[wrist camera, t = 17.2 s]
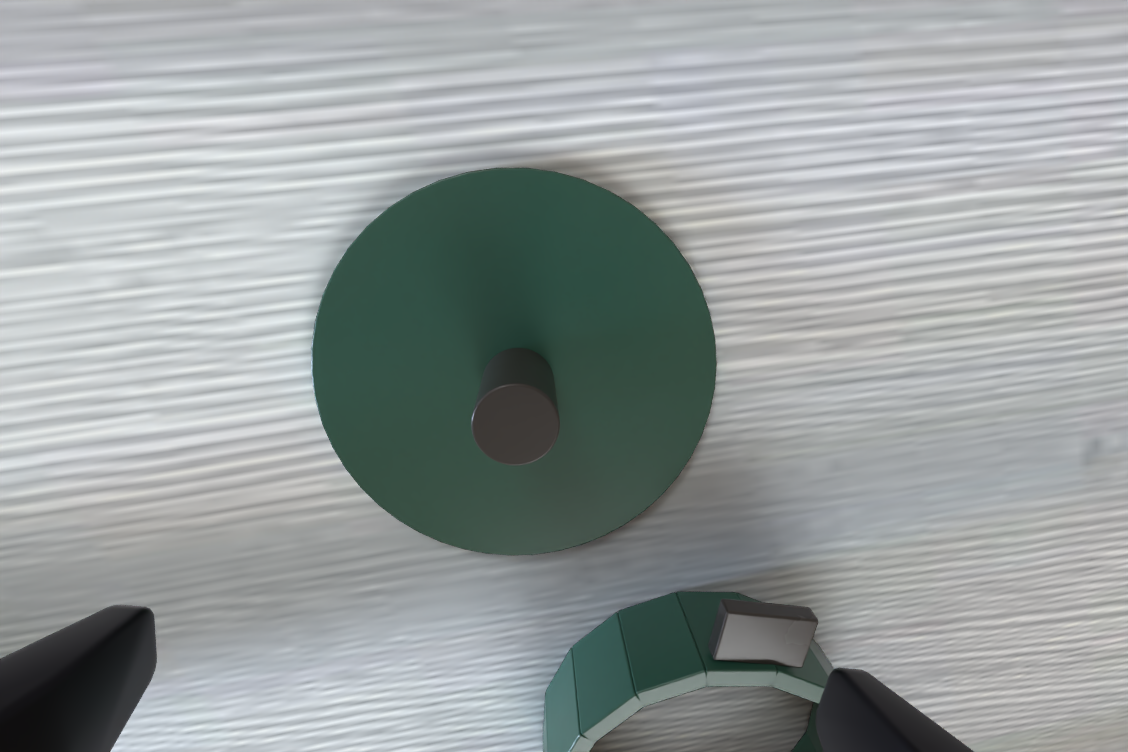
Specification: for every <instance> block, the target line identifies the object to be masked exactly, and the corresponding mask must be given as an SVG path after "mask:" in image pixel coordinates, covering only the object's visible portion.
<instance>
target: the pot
mask: <svg viewBox="0 0 1128 752" xmlns="http://www.w3.org/2000/svg"><path fill="white" fill-rule="evenodd" d="M817 624H818V619H817V618H816V616H815V615H814V613H813V612H812V610H811V609H810V608H808V607H801V606H791V605H781V604H772V603H762V602H759V601H757V600H754V599H752V598H749V597H747V596H744V595H742V594H739V593H735V592H677V593H675V592H674V593H671V594H668V595H665V596H662V597H659V598H656V599H653V600H650V601H647V602H644V603H641V604H638V605H635V606H632V607H629V608H626V609H623V610H620V611H619V612H618V613H615V614H614V615H612V616H611V617H610V618H608V619H607V620H606V621H605V622H603V623H602V624H601V625H599V626H598V627H597V628H596V629H594V630H593V631H592V632H590V633H589V634H588V635H586V636H585V637H584V638H583V639H581V640H580V641H579V642H577V643H576V644H575V645H574V646H573V648H571V649H570V650H569V652H568V654H567V656H566V657H565V659H564V661H563V662H562V664H561V666H560V668H559V669H558V671H557V673H556V675H555V676H554V678H553V680H552V681H551V683H550V685H549V687H548V688H547V690H546V693H545V707H544V723H543V752H590V751H591V749H592V748H593V746H594V744H595V743H596V742H597V741H598V740H599V739H601V738H602V737H604V736H605V735H606V734H608V733H609V732H610V731H612V730H613V729H614V728H616V727H617V726H619V725H620V724H621V723H623V722H624V721H625V720H627V719H628V718H629V717H631V716H632V715H634V714H635V713H636V712H638V711H639V710H640V709H642V708H643V707H645V706H648V705H651V704H654V703H657V702H660V701H664V700H667V699H670V698H673V697H676V696H679V695H682V694H685V693H688V692H691V691H695V690H698V689H701V688H704V687H722V686H771V687H774V688H777V689H780V690H782V691H785V692H788V693H791V694H793V695H796V696H799V697H802V698H804V699H807V700H810V701H813V707H812V711H811V715H810V720H809V724H808V728H807V732H806V733H805V734H804V736H803V737H802V738H801V740H800V741H799V742H798V744H797V745H796V746H795V748H794V749H793V750H792V752H823V749H822V746H821V743H820V740H819V737H818V734H817V730H816V721H815V718H816V711H817V708H818V705H819V702H820V699H821V697H822V694H823V691H824V688H825V686H826V683H827V680H828V677H829V675H830V673H831V672H832V671H833V670H834V668H833V666H832V665H831V663H830V662H829V660H828V659H827V657H826V656H825V654H824V653H823V651H822V650H821V648H820V647H819V646H818V644H817V643H816V642H815V641H814V640H813V639H812V638H813V636H814V633H815V630H816V627H817Z"/></svg>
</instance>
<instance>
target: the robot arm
mask: <svg viewBox="0 0 1128 752" xmlns="http://www.w3.org/2000/svg"><path fill="white" fill-rule="evenodd" d="M156 662H157V654H156V638H155V621H154V614H153V612H152V611H151V610H150V609H149V608H147V607H141V606H130V605H113V606H110V607H108V608H105V609H103V610H101V611H99V612H97V613H95V614H93V615H91V616H89V617H86V618H84V619H82V620H80V621H78V622H76V623H74V624H72V625H70V626H68V627H66V628H63V629H61V630H59V631H57V632H55V633H53V634H51V635H49V636H47V637H45V638H43V639H41V640H38V641H36V642H34V643H32V644H30V645H28V646H26V647H24V648H22V649H20V650H18V651H15V652H13V653H11V654H9V655H7V656H5V657H3V658H1V659H0V752H110V751H111V749H112V747H113V746H114V744H115V742H116V741H117V739H118V737H119V735H120V734H121V732H122V730H123V728H124V727H125V725H126V723H127V721H128V720H129V718H130V716H131V714H132V713H133V711H134V709H135V707H136V706H137V704H138V702H139V700H140V699H141V697H142V695H143V694H144V692H145V690H146V688H147V687H148V685H149V683H150V681H151V679H152V677H153V674H154V671H155V668H156ZM815 721H816V730H817V734H818V737H819V740H820V743H821V746H822V749H823V752H974V751H973V750H971V749H970V748H969V747H967V746H966V745H964V744H963V743H962V742H960V741H959V740H958V739H956V738H955V737H954V736H952V735H951V734H950V733H948V732H947V731H946V730H944V729H943V728H942V727H940V726H939V725H938V724H936V723H935V722H934V721H932V720H931V719H929V718H928V717H927V716H925V715H924V714H923V713H921V712H920V711H919V710H917V709H916V708H915V707H913V706H912V705H911V704H909V703H908V702H907V701H905V700H904V699H903V698H901V697H900V696H899V695H897V694H896V693H895V692H893V691H892V690H890V689H889V688H888V687H886V686H885V685H884V684H882V683H881V682H880V681H878V680H877V679H876V678H874V677H873V676H872V675H870V674H869V673H867V672H865V671H863V670H859V669H848V668H836V669H834V670H833V671H832V672H831V673H830V675H829V677H828V680H827V683H826V686H825V688H824V691H823V694H822V697H821V699H820V702H819V705H818V708H817V711H816V718H815Z"/></svg>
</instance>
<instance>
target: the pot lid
mask: <svg viewBox="0 0 1128 752" xmlns="http://www.w3.org/2000/svg"><path fill="white" fill-rule="evenodd" d="M311 352H312V380H313V387H314V394H315V400H316V403H317V407H318V410H319V414H320V417H321V421H322V424H323V426H324V429H325V431H326V433H327V436H328V438H329V440H330V442H331V445H332V447H333V449H334V450H335V452H336V454H337V455H338V457H339V458H340V460H341V462H342V463H343V465H344V467H345V468H346V470H347V471H348V472H349V473H350V475H351V476H352V477H353V478H354V480H355V481H356V482H357V483H358V485H359V486H360V487H361V488H362V489H363V490H364V491H365V492H366V493H367V494H368V495H369V496H370V497H371V498H372V499H373V500H374V501H375V502H376V503H377V504H378V505H379V506H381V507H382V508H383V509H384V510H386V511H387V512H388V513H390V514H391V515H392V516H394V517H395V518H396V519H398V520H399V521H401V522H403V523H404V524H406V525H408V526H409V527H411V528H413V529H414V530H416V531H418V532H420V533H422V534H424V535H426V536H429V537H431V538H433V539H436V540H438V541H440V542H443V543H446V544H449V545H452V546H456V547H459V548H462V549H466V550H471V551H477V552H482V553H487V554H500V555H532V554H541V553H548V552H554V551H560V550H564V549H567V548H571V547H575V546H578V545H582V544H585V543H587V542H590V541H592V540H595V539H597V538H599V537H602V536H604V535H606V534H608V533H610V532H612V531H614V530H615V529H617V528H619V527H621V526H623V525H625V524H626V523H628V522H629V521H630V520H632V519H633V518H635V517H636V516H637V515H639V514H640V513H642V512H643V511H645V510H646V509H647V508H648V507H649V506H650V505H651V504H652V503H653V502H655V501H656V500H657V499H658V498H659V497H660V496H661V495H662V494H663V493H664V492H665V491H666V490H667V488H668V487H669V486H670V485H671V484H672V483H673V481H674V480H675V479H676V478H677V477H678V475H679V474H680V472H681V471H682V469H683V468H684V466H685V465H686V463H687V462H688V461H689V459H690V458H691V456H692V454H693V452H694V450H695V448H696V446H697V444H698V442H699V440H700V438H701V436H702V433H703V430H704V427H705V424H706V422H707V419H708V416H709V413H710V409H711V404H712V399H713V394H714V390H715V378H716V364H717V363H716V347H715V336H714V331H713V326H712V321H711V316H710V312H709V309H708V306H707V304H706V301H705V298H704V295H703V292H702V289H701V287H700V285H699V283H698V281H697V279H696V277H695V275H694V273H693V272H692V270H691V268H690V266H689V264H688V263H687V261H686V260H685V258H684V257H683V256H682V254H681V253H680V251H679V250H678V248H677V247H676V246H675V244H674V243H673V242H672V241H671V240H670V239H669V238H668V236H667V235H666V234H665V233H664V232H663V231H662V230H661V229H660V228H659V227H658V226H657V225H656V223H654V222H653V221H652V220H651V219H649V218H648V217H647V216H646V215H645V214H643V213H642V212H641V211H640V210H638V209H637V208H636V207H635V206H633V205H632V204H630V203H629V202H627V201H625V200H624V199H622V198H620V197H619V196H617V195H615V194H614V193H612V192H611V191H609V190H606V189H604V188H602V187H599V186H597V185H595V184H593V183H590V182H588V181H586V180H583V179H580V178H576V177H573V176H569V175H565V174H562V173H558V172H554V171H547V170H539V169H532V168H492V169H485V170H478V171H471V172H466V173H463V174H459V175H456V176H452V177H449V178H445V179H442V180H439V181H437V182H435V183H432V184H430V185H428V186H426V187H423V188H421V189H419V190H417V191H415V192H413V193H411V194H409V195H408V196H406V197H405V198H403V199H402V200H400V201H398V202H397V203H395V204H394V205H392V206H391V207H389V208H388V209H387V210H385V211H384V212H383V213H382V214H381V215H380V216H379V217H377V218H376V219H375V220H374V221H373V222H372V223H370V224H369V225H368V226H367V227H366V228H365V229H364V230H363V232H362V233H361V234H360V235H359V236H358V237H357V239H356V240H355V241H354V242H353V243H352V244H351V245H350V247H349V248H348V249H347V251H346V253H345V254H344V256H343V257H342V259H341V260H340V262H339V263H338V265H337V267H336V268H335V270H334V271H333V274H332V276H331V278H330V280H329V282H328V285H327V287H326V289H325V291H324V293H323V296H322V299H321V303H320V306H319V310H318V313H317V316H316V320H315V326H314V333H313V340H312V347H311Z"/></svg>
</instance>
